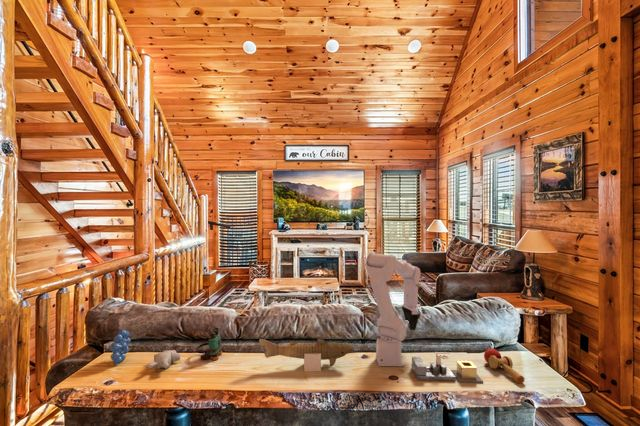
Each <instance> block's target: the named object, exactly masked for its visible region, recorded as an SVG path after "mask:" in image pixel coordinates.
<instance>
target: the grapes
mask: <svg viewBox="0 0 640 426" xmlns="http://www.w3.org/2000/svg"><path fill="white" fill-rule="evenodd" d="M130 335H131V334H130V332H129V331H128V330H126V329H121V330H119V332H118V333H117V335H115V337H114V338H113V340H114V342H112V343H110V345H109V350H110V351H111V352H112V353H111V355H110V359H111V360H112V361H113V364H114V365H116V366H117V365H120V363H122V362H124V361H125V359H126V358H127V356H126V354H127V353H129V351H130V349H129V346H128V345H129V344H130V343H131V342H132V341H131V338H130Z"/></svg>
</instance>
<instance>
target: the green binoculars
mask: <svg viewBox="0 0 640 426" xmlns="http://www.w3.org/2000/svg"><path fill="white" fill-rule="evenodd" d="M209 336H210V338H209V339H208V342H203V343H201V344H199V345H198V346H197V347H196V353H198V354H201V355H200V360H206V359H211V360H213V361H218V360H219V359H220V358H219V356H222V355H223V351H222V350H221V349H222V340H221V334H220V328H219V327H215V328H213V332H211V333H209ZM204 346H208V348H206V349H204V350H199V349H200V348H202V347H204Z"/></svg>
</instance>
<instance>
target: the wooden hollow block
mask: <svg viewBox="0 0 640 426" xmlns="http://www.w3.org/2000/svg"><path fill="white" fill-rule="evenodd" d="M456 370H457V373H458V374H459V375H460V377H461V378H462V379H477V375H478V373H477V372H478V368H477V366H476V365H475V364H474V363H473V361H471V360H456Z"/></svg>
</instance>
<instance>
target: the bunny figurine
mask: <svg viewBox="0 0 640 426" xmlns="http://www.w3.org/2000/svg"><path fill="white" fill-rule="evenodd" d="M180 359H181V353H178V352H177V351H176V350H175V349H172V350H166V349H165V350H163V351H162V352H158V353H156V354H154V355H153V361H152V362H149V363H147V364H146V366H145V369H150V368H153V367H155V368H156V369H158V370H159V369H161V368H164V369H168V368H170V367H171V366H172V365H171V364H173V363H175V362H177V361H180Z"/></svg>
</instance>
